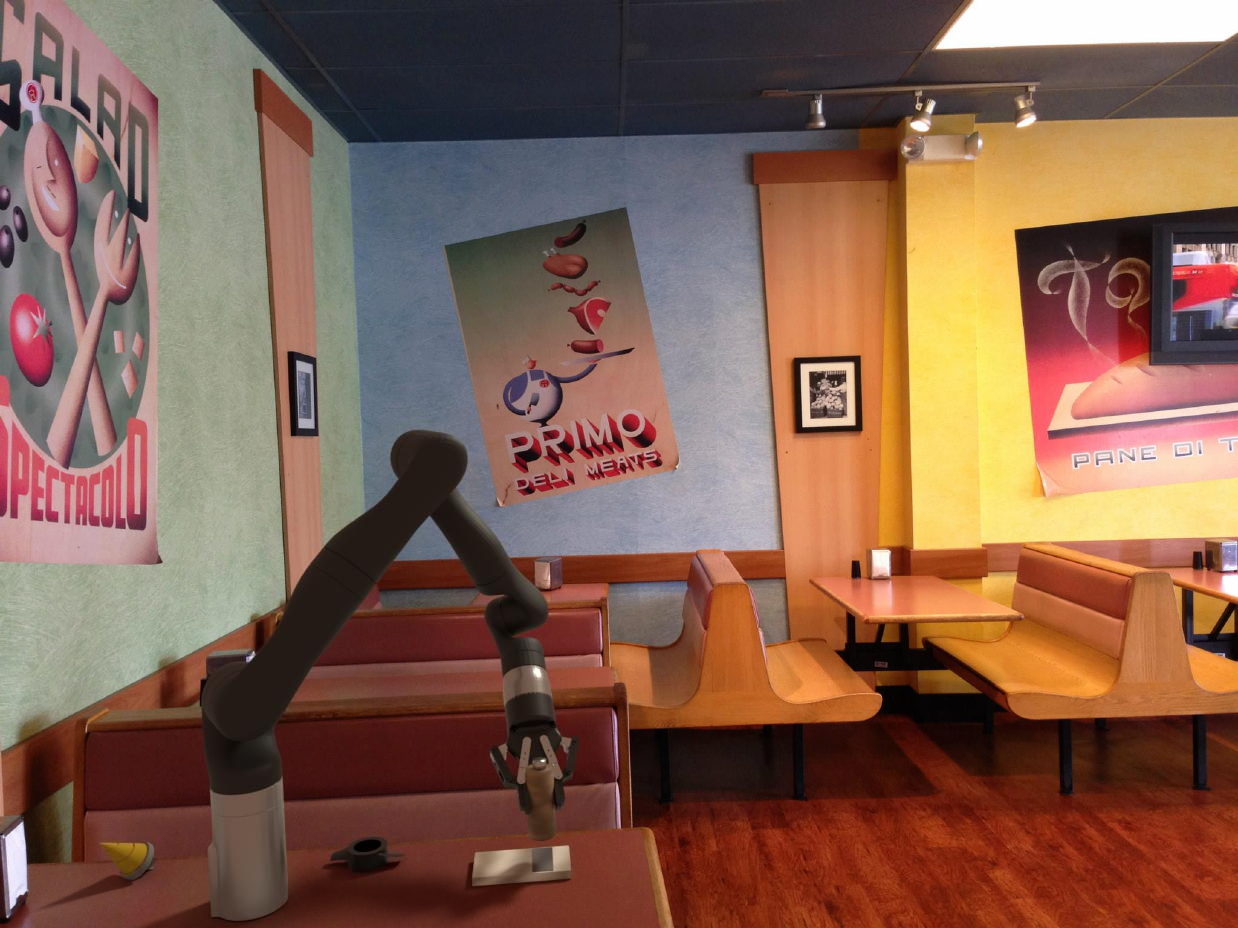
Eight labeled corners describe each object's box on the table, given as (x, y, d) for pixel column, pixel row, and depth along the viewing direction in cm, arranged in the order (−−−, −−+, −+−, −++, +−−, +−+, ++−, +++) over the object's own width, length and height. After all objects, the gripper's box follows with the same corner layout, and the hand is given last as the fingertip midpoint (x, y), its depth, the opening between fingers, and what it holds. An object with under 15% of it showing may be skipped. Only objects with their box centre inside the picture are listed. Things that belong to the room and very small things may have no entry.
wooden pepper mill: (529, 842, 132) (526, 766, 131) (527, 829, 136) (524, 755, 135) (556, 839, 132) (554, 763, 132) (554, 827, 136) (552, 753, 136)
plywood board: (472, 885, 129) (472, 876, 129) (475, 859, 137) (475, 851, 137) (571, 878, 131) (571, 869, 131) (569, 853, 138) (568, 844, 138)
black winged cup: (370, 884, 131) (369, 865, 131) (325, 866, 137) (324, 847, 137) (410, 862, 138) (410, 843, 137) (366, 845, 143) (365, 827, 143)
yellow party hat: (163, 879, 135) (109, 854, 129) (135, 892, 136) (80, 867, 130) (172, 845, 139) (119, 818, 133) (145, 857, 140) (91, 831, 134)
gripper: (483, 695, 138) (494, 806, 127) (575, 685, 142) (594, 793, 131) (481, 718, 144) (492, 827, 133) (570, 708, 147) (588, 813, 136)
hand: (543, 809), depth 132 cm, fingers closed on wooden pepper mill, 4 cm apart
